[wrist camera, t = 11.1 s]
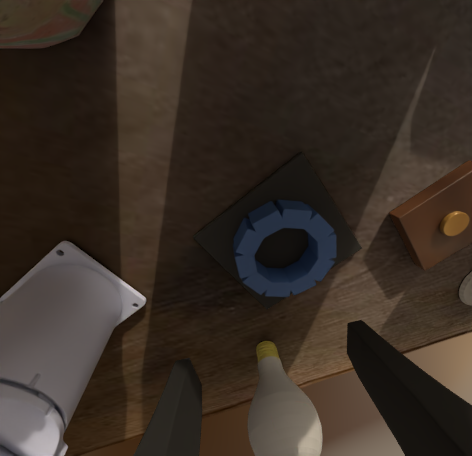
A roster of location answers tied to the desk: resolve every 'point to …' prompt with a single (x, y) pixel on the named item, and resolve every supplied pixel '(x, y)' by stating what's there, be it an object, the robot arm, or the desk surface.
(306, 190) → the mat
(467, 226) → the platform
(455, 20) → the desk surface
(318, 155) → the desk surface
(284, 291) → the ring
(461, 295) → the figurine
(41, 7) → the potted plant
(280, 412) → the light bulb
